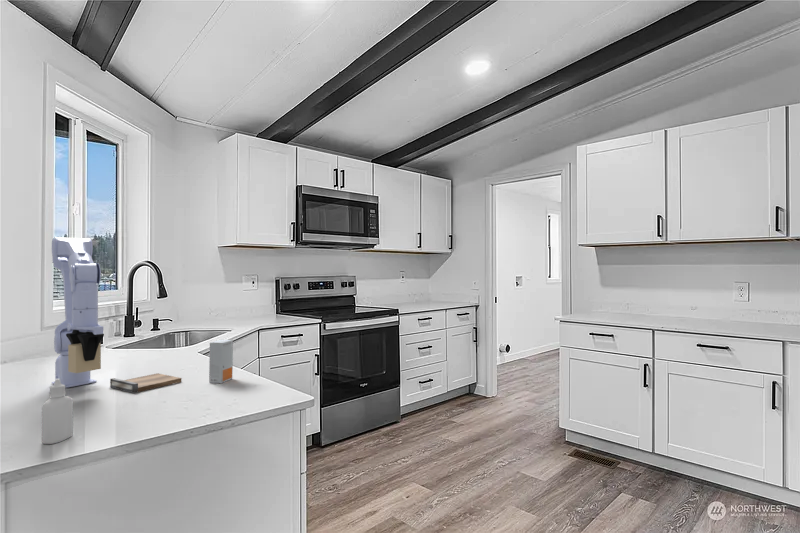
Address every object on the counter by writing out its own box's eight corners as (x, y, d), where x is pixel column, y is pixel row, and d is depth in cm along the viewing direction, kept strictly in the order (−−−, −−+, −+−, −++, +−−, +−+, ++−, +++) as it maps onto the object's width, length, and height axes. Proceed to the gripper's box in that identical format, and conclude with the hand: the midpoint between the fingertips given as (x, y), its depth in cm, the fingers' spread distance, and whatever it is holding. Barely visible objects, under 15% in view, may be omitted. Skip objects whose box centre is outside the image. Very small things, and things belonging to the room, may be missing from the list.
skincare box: (221, 383, 136) (221, 342, 136) (208, 383, 136) (208, 342, 136) (233, 378, 141) (233, 339, 142) (220, 378, 142) (220, 339, 142)
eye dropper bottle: (36, 441, 90) (36, 380, 90) (69, 433, 95) (69, 374, 95) (45, 446, 88) (45, 383, 88) (78, 437, 93) (78, 377, 93)
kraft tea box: (68, 371, 122) (68, 344, 122) (93, 367, 127) (92, 341, 127) (76, 373, 120) (75, 346, 120) (100, 368, 125) (100, 342, 125)
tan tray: (109, 387, 131) (109, 378, 131) (157, 377, 144) (157, 369, 144) (133, 393, 125) (133, 384, 125) (181, 382, 137) (181, 373, 137)
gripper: (54, 308, 123) (54, 359, 123) (82, 311, 116) (82, 365, 116) (83, 306, 130) (83, 354, 129) (111, 308, 122) (111, 360, 122)
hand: (84, 359), depth 123 cm, fingers closed on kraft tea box, 4 cm apart
